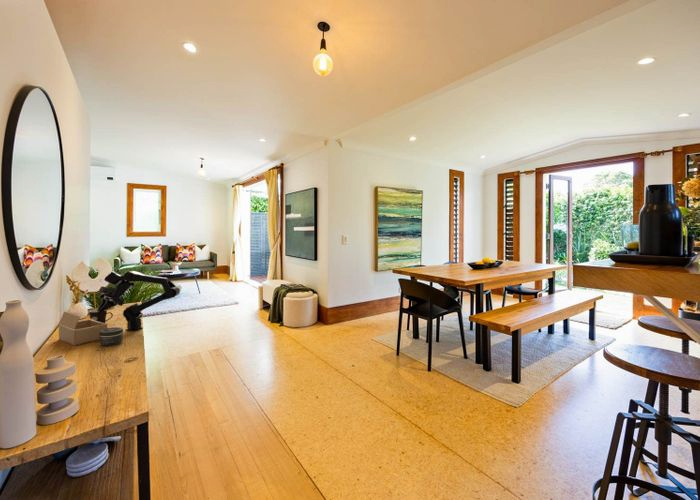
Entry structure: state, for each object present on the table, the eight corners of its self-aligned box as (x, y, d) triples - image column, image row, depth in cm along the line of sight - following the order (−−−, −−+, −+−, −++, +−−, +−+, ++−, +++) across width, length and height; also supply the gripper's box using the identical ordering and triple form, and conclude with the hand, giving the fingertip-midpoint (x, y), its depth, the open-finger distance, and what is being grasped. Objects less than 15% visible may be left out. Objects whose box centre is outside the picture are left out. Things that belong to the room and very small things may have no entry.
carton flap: (59, 324, 167) (65, 311, 169) (74, 329, 159) (80, 316, 161) (58, 324, 167) (64, 311, 169) (73, 329, 159) (79, 316, 160)
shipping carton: (91, 332, 181) (91, 318, 180) (107, 338, 171) (107, 324, 171) (58, 339, 168) (58, 324, 167) (74, 346, 159) (74, 330, 158)
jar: (118, 346, 160) (118, 331, 160) (95, 348, 157) (95, 333, 157) (126, 340, 170) (126, 326, 169) (104, 341, 166) (104, 327, 166)
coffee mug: (85, 327, 189) (85, 311, 189) (100, 323, 198) (100, 308, 197) (99, 329, 186) (99, 313, 186) (114, 325, 194) (114, 310, 194)
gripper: (101, 279, 184) (78, 301, 175) (117, 282, 175) (94, 305, 166) (116, 291, 191) (95, 312, 182) (133, 294, 182) (111, 317, 173)
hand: (98, 311), depth 175 cm, fingers closed
